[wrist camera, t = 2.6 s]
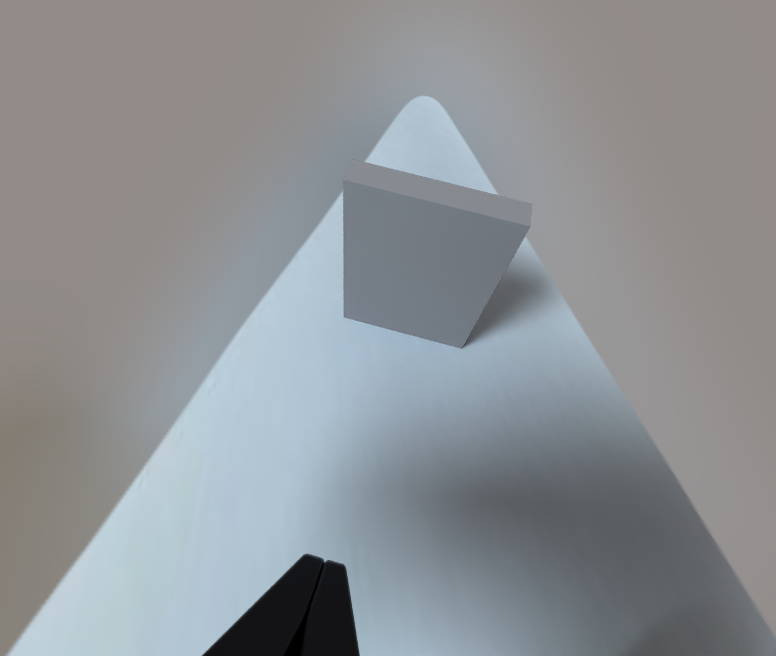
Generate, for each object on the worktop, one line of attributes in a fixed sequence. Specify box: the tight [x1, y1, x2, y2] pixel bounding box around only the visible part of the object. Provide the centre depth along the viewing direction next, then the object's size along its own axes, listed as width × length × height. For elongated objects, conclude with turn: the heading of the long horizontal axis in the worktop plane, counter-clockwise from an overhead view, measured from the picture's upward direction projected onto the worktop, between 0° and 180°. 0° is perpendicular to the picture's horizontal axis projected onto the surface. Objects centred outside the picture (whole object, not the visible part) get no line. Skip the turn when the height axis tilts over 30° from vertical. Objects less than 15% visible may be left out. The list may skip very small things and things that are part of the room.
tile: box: [343, 159, 532, 349], centre depth 21 cm, size 2×8×11 cm, turn 76°
